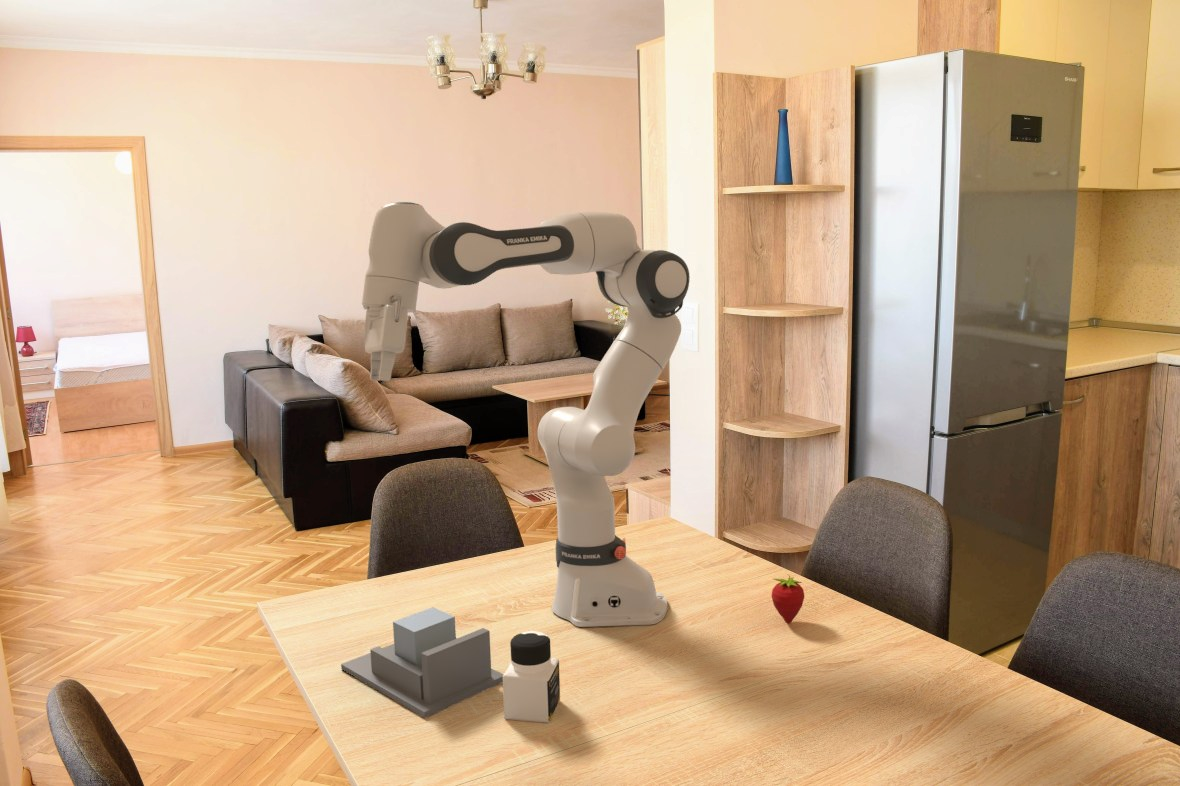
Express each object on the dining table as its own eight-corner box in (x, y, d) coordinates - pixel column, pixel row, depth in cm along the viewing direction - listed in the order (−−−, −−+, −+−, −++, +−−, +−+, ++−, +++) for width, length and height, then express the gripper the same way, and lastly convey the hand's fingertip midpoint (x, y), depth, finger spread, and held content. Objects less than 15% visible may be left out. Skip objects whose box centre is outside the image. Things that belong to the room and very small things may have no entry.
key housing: (341, 669, 156) (337, 619, 154) (419, 639, 167) (416, 592, 166) (424, 718, 139) (421, 662, 138) (505, 680, 151) (503, 629, 149)
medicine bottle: (549, 723, 137) (547, 648, 135) (503, 720, 138) (500, 645, 136) (560, 700, 144) (558, 628, 142) (516, 697, 145) (514, 625, 143)
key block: (396, 673, 151) (392, 621, 150) (435, 657, 157) (433, 607, 155) (417, 685, 147) (414, 632, 146) (457, 667, 153) (454, 616, 151)
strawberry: (767, 628, 168) (768, 576, 166) (775, 613, 175) (776, 562, 173) (800, 633, 166) (801, 580, 164) (807, 617, 173) (807, 566, 171)
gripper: (420, 296, 145) (410, 383, 144) (398, 305, 164) (389, 382, 163) (380, 289, 142) (369, 378, 142) (362, 300, 161) (352, 378, 161)
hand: (379, 380), depth 153 cm, fingers open, 8 cm apart
